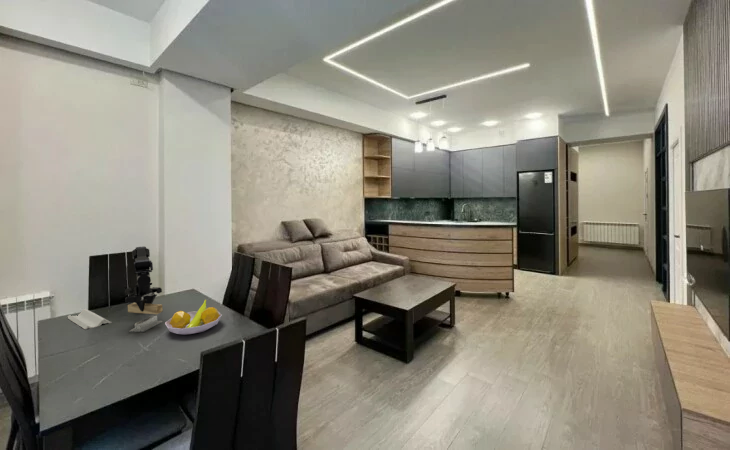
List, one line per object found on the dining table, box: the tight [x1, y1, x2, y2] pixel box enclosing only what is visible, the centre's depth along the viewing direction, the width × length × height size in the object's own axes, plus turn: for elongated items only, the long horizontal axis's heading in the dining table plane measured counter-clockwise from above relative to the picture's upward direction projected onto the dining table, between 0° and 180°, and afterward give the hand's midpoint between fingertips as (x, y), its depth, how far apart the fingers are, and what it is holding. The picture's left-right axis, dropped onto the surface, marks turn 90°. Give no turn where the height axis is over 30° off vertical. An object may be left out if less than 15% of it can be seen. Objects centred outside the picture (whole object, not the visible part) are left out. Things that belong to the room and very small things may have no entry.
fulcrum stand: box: [128, 314, 164, 333], centre depth 168 cm, size 14×8×4 cm, turn 175°
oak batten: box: [127, 303, 164, 315], centre depth 168 cm, size 4×18×4 cm, turn 80°
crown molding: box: [67, 308, 112, 330], centre depth 178 cm, size 31×12×4 cm, turn 57°
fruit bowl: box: [164, 299, 223, 336], centre depth 166 cm, size 28×27×11 cm
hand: (145, 309), depth 168 cm, fingers closed on oak batten, 4 cm apart
